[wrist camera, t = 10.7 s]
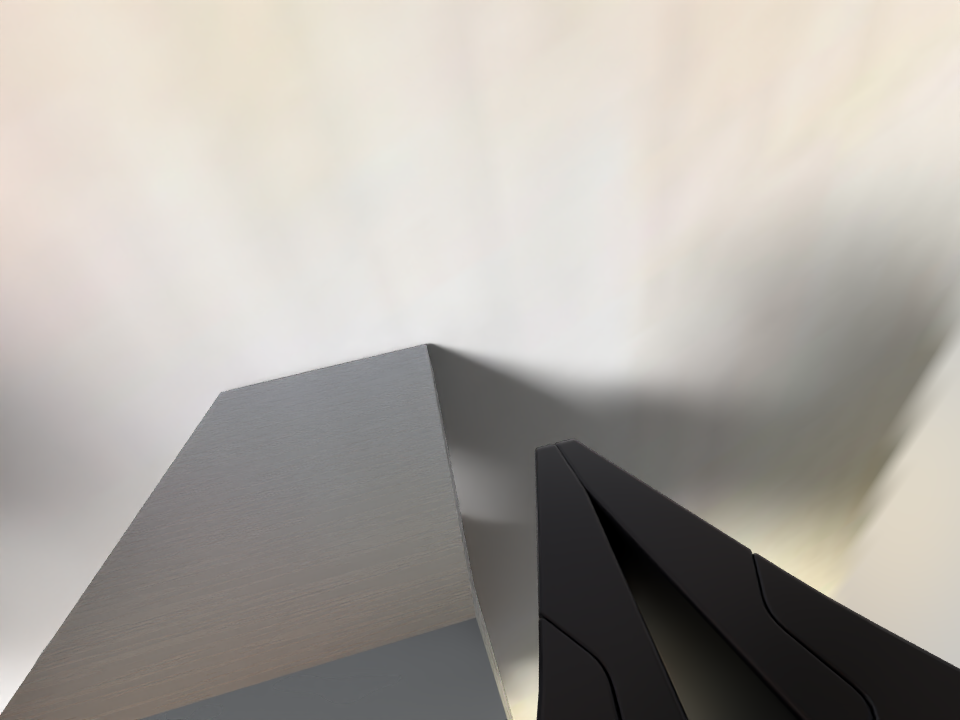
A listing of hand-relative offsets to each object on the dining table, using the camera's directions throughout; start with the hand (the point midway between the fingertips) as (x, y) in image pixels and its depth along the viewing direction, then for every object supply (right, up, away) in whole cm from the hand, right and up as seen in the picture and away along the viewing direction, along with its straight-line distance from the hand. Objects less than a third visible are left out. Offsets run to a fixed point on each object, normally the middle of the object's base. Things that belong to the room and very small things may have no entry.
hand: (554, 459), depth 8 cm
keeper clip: (-5, -1, +3) cm, 6 cm away
